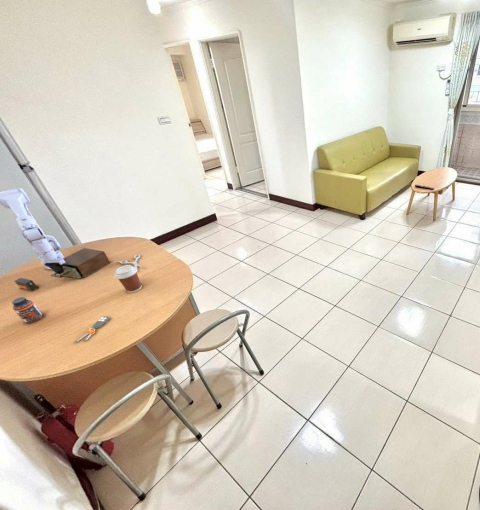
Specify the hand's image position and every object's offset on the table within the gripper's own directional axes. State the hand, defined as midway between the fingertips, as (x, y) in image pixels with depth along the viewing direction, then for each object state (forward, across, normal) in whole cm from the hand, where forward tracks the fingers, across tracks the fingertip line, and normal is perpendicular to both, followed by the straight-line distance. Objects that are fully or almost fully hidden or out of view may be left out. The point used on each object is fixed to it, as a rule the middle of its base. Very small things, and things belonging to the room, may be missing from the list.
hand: (61, 273), depth 141 cm
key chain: (+5, +47, -22) cm, 53 cm away
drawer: (+4, 0, +6) cm, 8 cm away
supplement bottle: (+5, +15, -24) cm, 29 cm away
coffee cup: (+5, +40, +4) cm, 41 cm away
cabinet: (+5, 0, +12) cm, 13 cm away
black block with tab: (+5, -12, -10) cm, 16 cm away
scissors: (+5, +22, +21) cm, 31 cm away
